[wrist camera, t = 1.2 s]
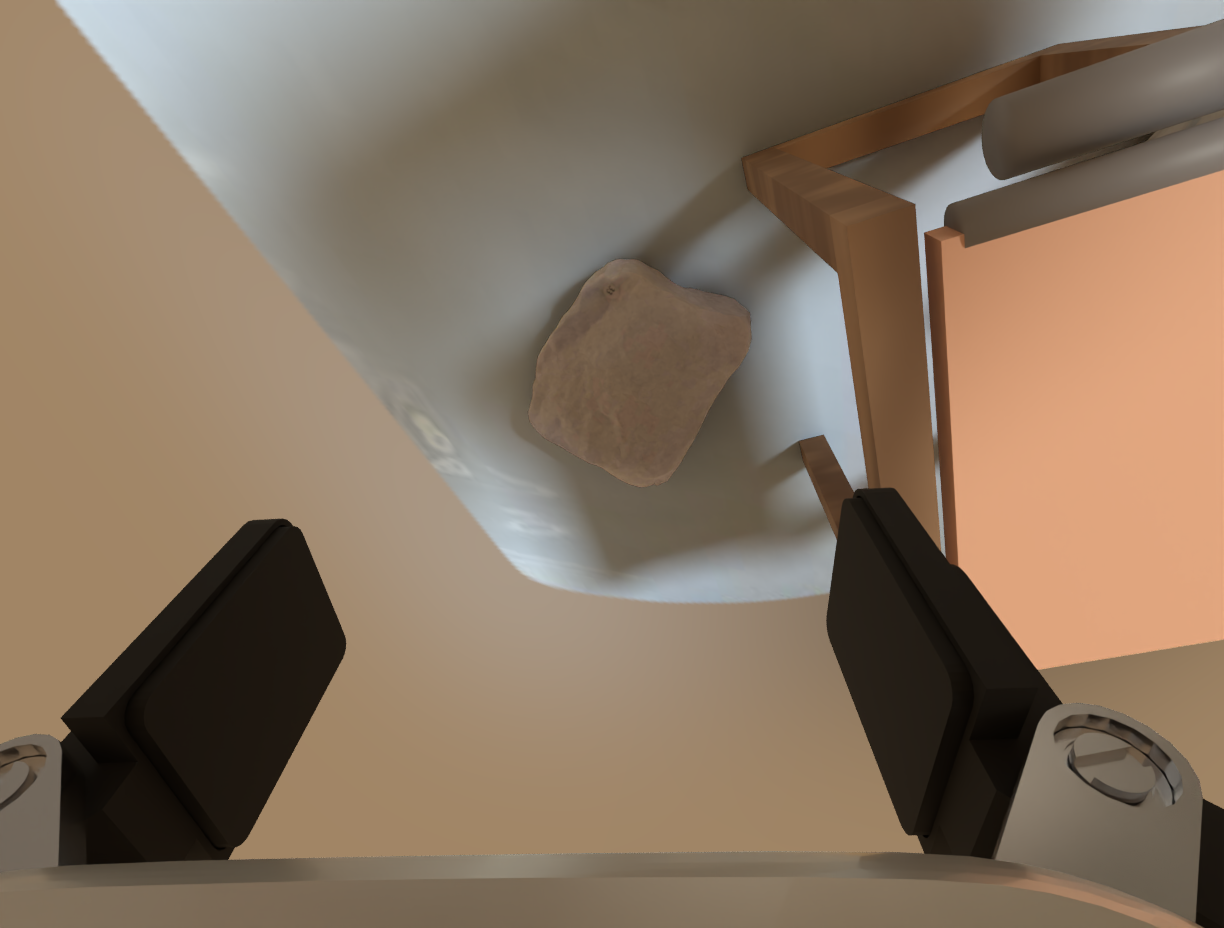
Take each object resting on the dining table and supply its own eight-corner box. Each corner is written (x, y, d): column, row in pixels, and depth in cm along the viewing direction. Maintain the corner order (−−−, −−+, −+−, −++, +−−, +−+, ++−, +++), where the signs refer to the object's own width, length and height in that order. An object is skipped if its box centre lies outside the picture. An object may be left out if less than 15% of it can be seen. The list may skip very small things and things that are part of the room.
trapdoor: (1384, -45, 13) (1540, -74, 11) (1228, 575, 22) (1295, 630, 19) (894, 127, 15) (937, 133, 13) (936, 628, 24) (965, 683, 22)
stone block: (531, 405, 39) (667, 476, 39) (503, 431, 35) (656, 511, 35) (605, 227, 33) (764, 310, 33) (582, 233, 29) (765, 328, 29)
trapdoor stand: (1058, 44, 26) (1640, -30, 11) (1046, 400, 35) (1360, 639, 20) (741, 157, 29) (846, 226, 14) (803, 460, 38) (909, 710, 22)
